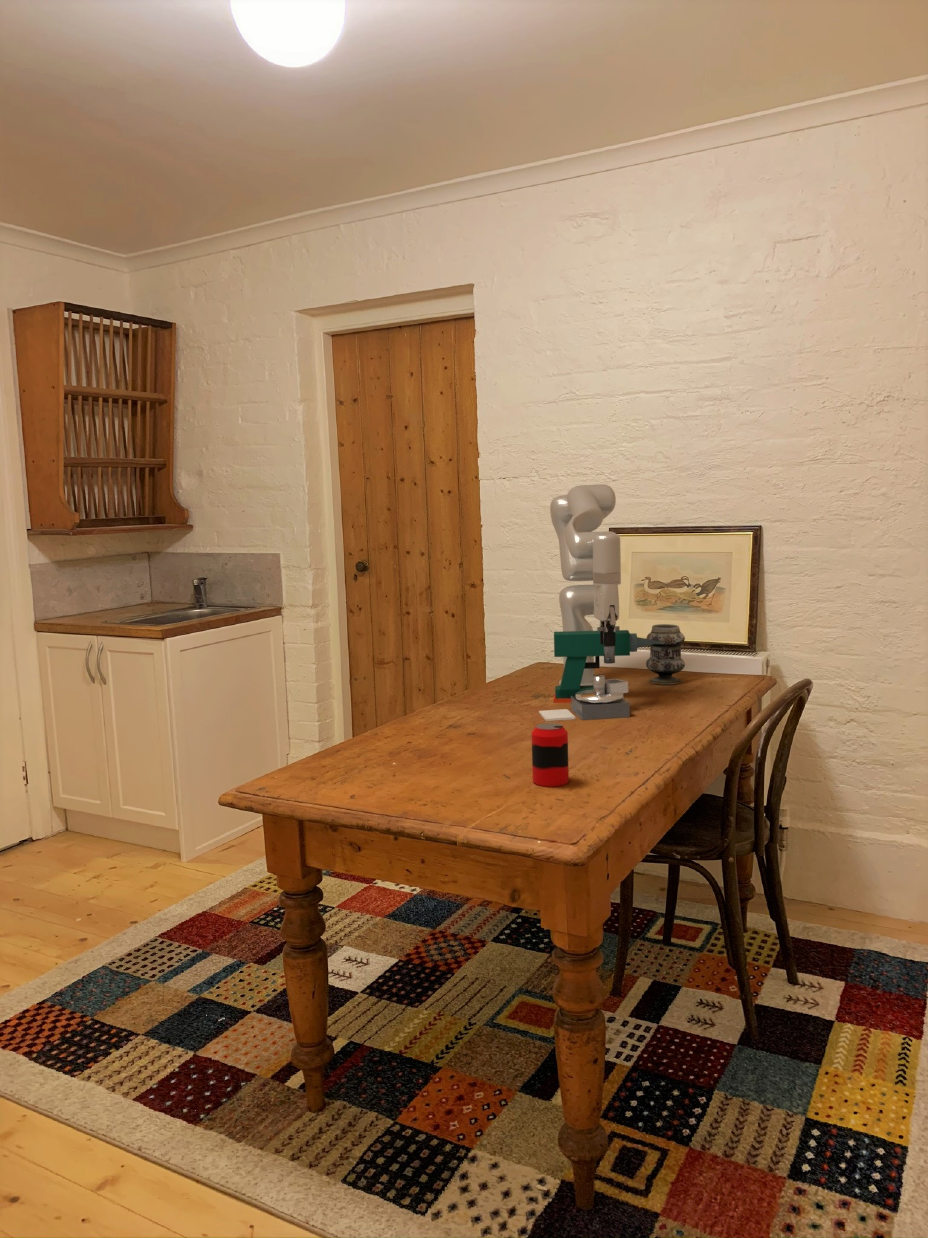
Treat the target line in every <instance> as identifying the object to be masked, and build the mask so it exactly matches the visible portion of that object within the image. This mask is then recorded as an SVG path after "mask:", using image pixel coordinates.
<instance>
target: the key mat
mask: <svg viewBox="0 0 928 1238" xmlns="http://www.w3.org/2000/svg"><path fill="white" fill-rule="evenodd" d="M538 714H539V715H540V716H541V717H542V718H543V719H544V720H545V722H551V721H569V720H576V716H575V715H574V714H573V713H572V712H571V711H570V710H569V709H567V708H563V709H561V708H560V709H550V710H549V709H548V710H547V709H546V710H545V709H543V710H538Z"/></svg>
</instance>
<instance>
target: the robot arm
mask: <svg viewBox="0 0 928 1238" xmlns="http://www.w3.org/2000/svg"><path fill="white" fill-rule="evenodd" d="M616 502H617V501H616V493H615V491H614V489H613V488H612V487H611V486H610V485H608V484H605V483H604V484H603V483H602V484H601V483H600V484H581V485H576V486H574V487H573V486H572V488H570V490H568V492H567V494H561V495H558V496H555V497H554V498H552V500H551V501H550V505H549V509H550V510H549V513H550V518H551V523H552V526H553V529H554V530H555V533H556V536H557V539H558V545H559V546H558V547H559V556H560V557H559V558H560V568H561V575H562V577H563V579H564V580H565V581H567V582H592V584H574V585H568V586H565V587H563V588H562V589H561V590H560V592H559V596H558V602H559V608H560V614H561V622H562V631H594V630H593V629H594V628H593V626H592V624H591V623H590V622H589V621H588V620H587V618H585V616H593V617H594V618H595V619H596V620H598V621H599V627H604V626H605V632H604V646H605V647H609V646H615V645H616V639H615V626H616V625H617V621H618V620H619V618H620V597H619V585H621V584H622V578H621V577H622V575H621V574H622V571H621V566H622V564H621V537H620V535H619V534H617V533H616V532H614V531H608V530H607V531H596V530H597V529H598V528H600V526H601V524H602V523H603V521H604V520H605V519H606V518H607V517H608V516H609V515H611V513H612V512H613V511H614V509H615V507H616ZM600 644H603V631H600ZM562 658H563V668H564V667H565V663H566V658H567V657H562ZM594 660H595V656H587V659H586V662H595V661H594ZM594 675H595V669H584V672H583V676H582V680H581V685H580V686H586V685H593V676H594ZM561 680H562V678H561V679H559V682H558V683H559V685H558V686H560V684H561Z"/></svg>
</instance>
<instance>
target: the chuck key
mask: <svg viewBox="0 0 928 1238" xmlns="http://www.w3.org/2000/svg"><path fill="white" fill-rule="evenodd" d="M596 628H597V629H596V631H603V646H604V632H605V626H604V627H600V626H597V627H596ZM617 630H620V625H617V626H616V625H615V631H617ZM615 663H616V656H615V647H614V646H609V647H605V646H604V656H603V664H615Z"/></svg>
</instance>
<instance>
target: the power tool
mask: <svg viewBox="0 0 928 1238" xmlns="http://www.w3.org/2000/svg"><path fill="white" fill-rule="evenodd" d="M615 639H616V645H615V646H614V647H615V657H619V656H620V657H622V656H623V657H624V656H627V657H629V656H631V653H635V652H636V653H637V652H638V649H639V648H642V647H646V646H647V647H648V646H650V645H652V644H657V643H661V642H660V641H655V640H650V639H647V638H643V637H638V633H636V632H635V633H633V632H632V633H631V632H630V631H629V630H628V629H621V630H617V631H615ZM553 652H554V653H553V654H554V656H553V657H554V658H563V657H567V658H566V663H565V667H564V666H563V670H562V671H563V672H562V676H561V679H562V680H561V679H560V680H561V684H560V685H555V686H554V687H555V688H554V692H555V693H554V694H553V703H554V704H556V703H557V704H558V703H559V704H562V703H565V704H566V703H567V704H568V703H570V704H571V696H575V695H576V693H577V692H580V691H585V690H593V685H586V686H580V685H581V680H582V676H583V672H584V669H594V670H595V669H601V666H600V663H601V662H600V661H601V660H600V657H604V646H603V644H600V631H597V630H593V631H563V630H562V631H553ZM587 656H594V660H595V661H594V662H586V659H587Z"/></svg>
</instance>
